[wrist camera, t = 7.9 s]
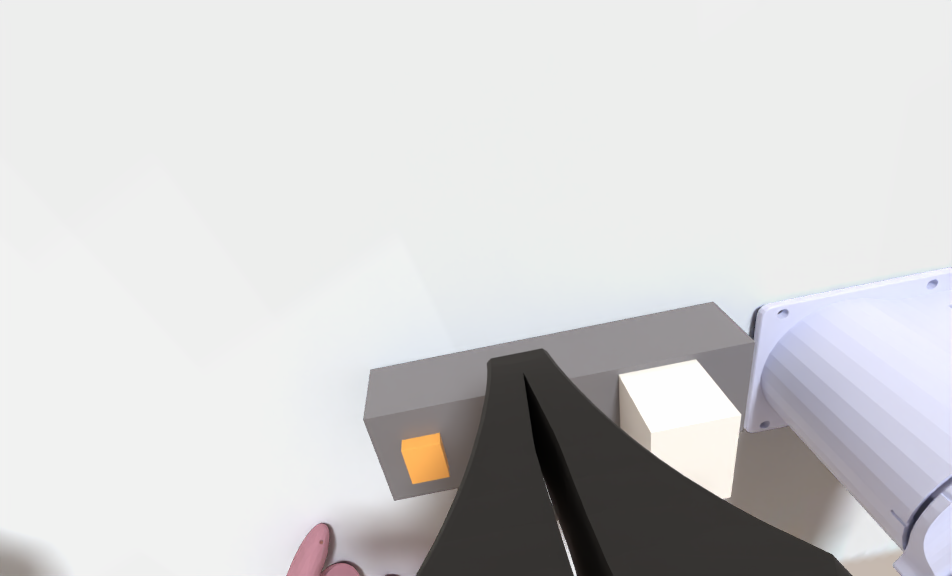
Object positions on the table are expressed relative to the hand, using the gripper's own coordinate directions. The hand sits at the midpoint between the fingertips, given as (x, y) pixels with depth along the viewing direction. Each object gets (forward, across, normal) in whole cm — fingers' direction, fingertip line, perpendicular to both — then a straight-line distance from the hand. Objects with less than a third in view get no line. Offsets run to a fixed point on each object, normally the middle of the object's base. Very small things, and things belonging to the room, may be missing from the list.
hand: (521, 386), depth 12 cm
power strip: (+9, -2, +12) cm, 15 cm away
